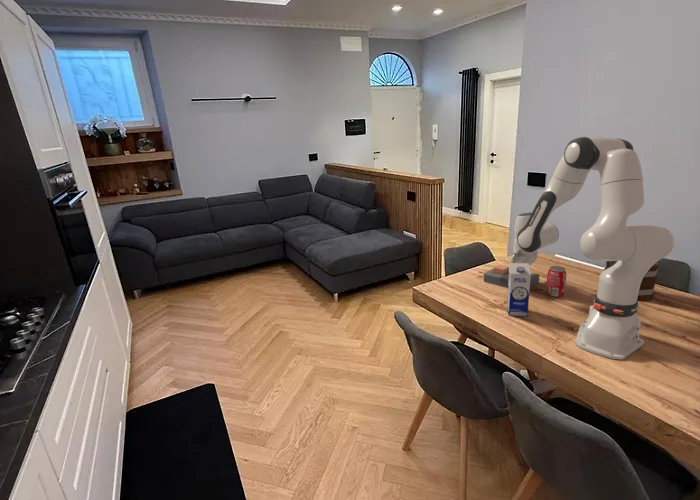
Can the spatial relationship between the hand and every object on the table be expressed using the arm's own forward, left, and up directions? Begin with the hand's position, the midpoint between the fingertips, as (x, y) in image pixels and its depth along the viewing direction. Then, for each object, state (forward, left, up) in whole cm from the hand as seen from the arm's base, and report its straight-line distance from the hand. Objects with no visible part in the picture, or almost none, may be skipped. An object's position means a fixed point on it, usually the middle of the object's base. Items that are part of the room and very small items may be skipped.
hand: (522, 276), depth 172 cm
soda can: (-1, -15, -4) cm, 16 cm away
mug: (+19, -36, -4) cm, 41 cm away
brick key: (0, +10, -1) cm, 10 cm away
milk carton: (-26, -10, -4) cm, 28 cm away
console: (0, +5, -4) cm, 6 cm away
